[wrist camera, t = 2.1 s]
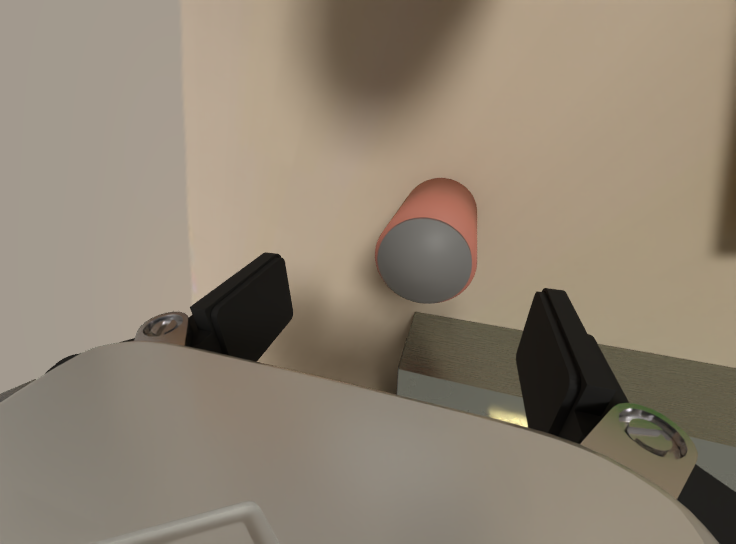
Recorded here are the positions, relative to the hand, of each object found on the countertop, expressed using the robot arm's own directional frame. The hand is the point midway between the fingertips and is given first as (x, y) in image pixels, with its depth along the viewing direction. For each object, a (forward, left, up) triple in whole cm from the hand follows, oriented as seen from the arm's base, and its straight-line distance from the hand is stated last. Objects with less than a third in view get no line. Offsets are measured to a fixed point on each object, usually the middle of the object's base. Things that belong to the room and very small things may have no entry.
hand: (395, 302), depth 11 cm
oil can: (-1, 0, -10) cm, 10 cm away
